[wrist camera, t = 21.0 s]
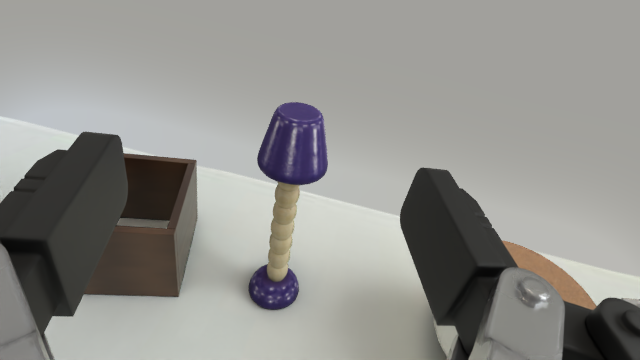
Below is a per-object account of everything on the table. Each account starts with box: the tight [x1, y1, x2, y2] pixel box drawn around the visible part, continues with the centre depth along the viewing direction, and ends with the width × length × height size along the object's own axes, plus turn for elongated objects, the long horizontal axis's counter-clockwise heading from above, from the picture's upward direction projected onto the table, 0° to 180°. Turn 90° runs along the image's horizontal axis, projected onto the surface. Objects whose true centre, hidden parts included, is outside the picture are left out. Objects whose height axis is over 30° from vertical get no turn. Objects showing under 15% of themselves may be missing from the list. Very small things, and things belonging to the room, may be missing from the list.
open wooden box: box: [84, 153, 197, 297], centre depth 31 cm, size 9×9×7 cm
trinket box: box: [433, 241, 597, 356], centre depth 28 cm, size 11×11×9 cm
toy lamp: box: [249, 102, 328, 309], centre depth 28 cm, size 5×5×17 cm
